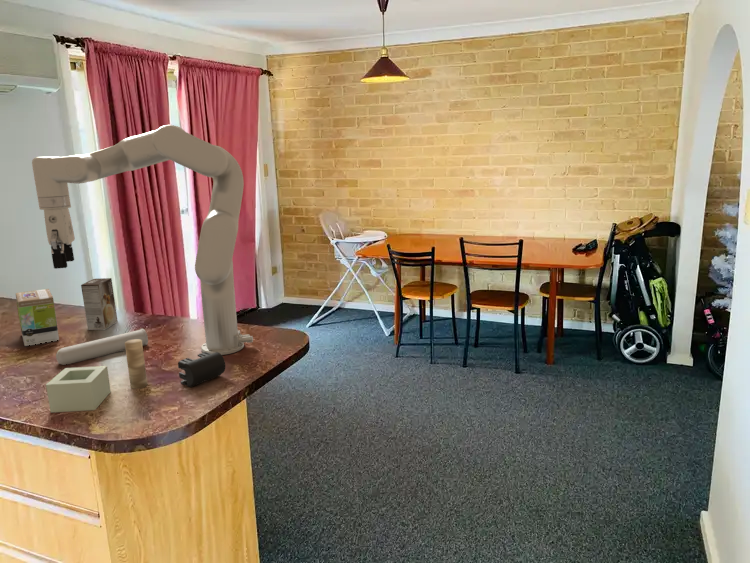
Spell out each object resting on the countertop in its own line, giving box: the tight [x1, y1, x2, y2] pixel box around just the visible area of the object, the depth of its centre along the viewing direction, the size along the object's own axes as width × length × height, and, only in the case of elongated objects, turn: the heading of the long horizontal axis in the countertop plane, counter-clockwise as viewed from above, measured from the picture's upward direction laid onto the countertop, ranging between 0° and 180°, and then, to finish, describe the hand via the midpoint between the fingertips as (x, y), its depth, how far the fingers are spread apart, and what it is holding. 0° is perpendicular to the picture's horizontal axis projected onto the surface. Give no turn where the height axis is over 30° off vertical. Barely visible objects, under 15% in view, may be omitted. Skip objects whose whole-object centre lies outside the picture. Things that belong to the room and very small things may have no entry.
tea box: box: [15, 288, 60, 347], centre depth 182 cm, size 15×10×15 cm
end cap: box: [177, 352, 226, 388], centre depth 146 cm, size 10×7×7 cm
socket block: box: [45, 365, 112, 413], centre depth 135 cm, size 10×10×7 cm
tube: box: [55, 328, 149, 366], centre depth 167 cm, size 5×5×25 cm
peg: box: [125, 339, 148, 390], centre depth 143 cm, size 4×4×12 cm
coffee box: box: [80, 277, 119, 331], centre depth 192 cm, size 9×6×16 cm
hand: (64, 264), depth 156 cm, fingers open, 9 cm apart
